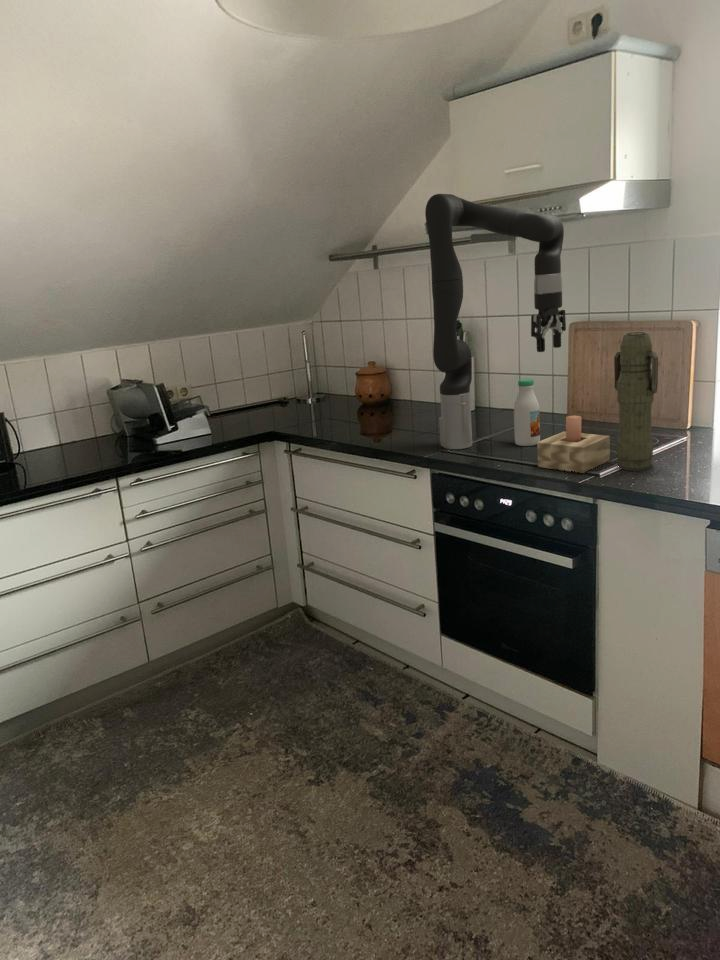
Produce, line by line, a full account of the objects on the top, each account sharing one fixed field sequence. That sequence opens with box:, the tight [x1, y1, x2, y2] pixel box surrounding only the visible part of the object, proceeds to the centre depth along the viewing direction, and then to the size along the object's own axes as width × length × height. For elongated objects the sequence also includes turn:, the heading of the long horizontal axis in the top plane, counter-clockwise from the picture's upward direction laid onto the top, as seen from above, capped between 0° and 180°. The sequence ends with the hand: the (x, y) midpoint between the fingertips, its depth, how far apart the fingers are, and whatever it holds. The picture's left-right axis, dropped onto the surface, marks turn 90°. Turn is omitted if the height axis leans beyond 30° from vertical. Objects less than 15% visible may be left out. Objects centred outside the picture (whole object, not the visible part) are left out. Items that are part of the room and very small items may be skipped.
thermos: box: [613, 331, 659, 472], centre depth 193 cm, size 9×12×35 cm
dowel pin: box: [565, 415, 582, 442], centre depth 203 cm, size 4×4×11 cm
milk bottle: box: [513, 378, 541, 447], centre depth 229 cm, size 8×8×20 cm
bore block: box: [536, 430, 611, 474], centre depth 204 cm, size 14×14×7 cm
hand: (549, 349), depth 211 cm, fingers open, 8 cm apart
